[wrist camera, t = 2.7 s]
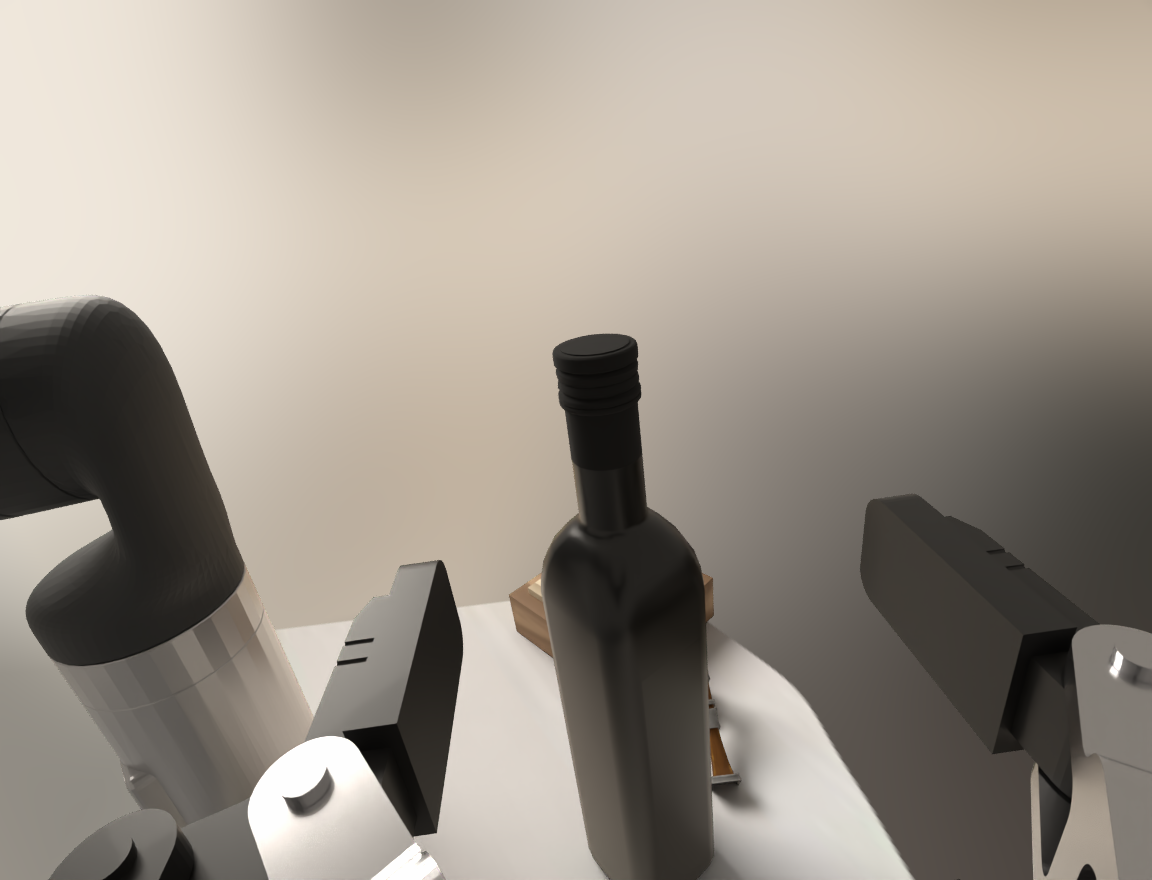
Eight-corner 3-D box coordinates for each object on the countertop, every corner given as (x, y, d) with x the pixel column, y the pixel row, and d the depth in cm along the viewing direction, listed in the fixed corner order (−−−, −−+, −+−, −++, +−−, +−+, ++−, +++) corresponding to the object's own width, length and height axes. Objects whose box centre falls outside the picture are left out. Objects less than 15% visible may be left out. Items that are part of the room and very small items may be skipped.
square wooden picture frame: (618, 706, 42) (612, 659, 40) (516, 630, 51) (507, 589, 49) (713, 615, 49) (712, 571, 47) (610, 562, 58) (606, 523, 56)
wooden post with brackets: (705, 670, 43) (710, 647, 40) (733, 793, 38) (742, 779, 35) (681, 673, 43) (683, 650, 40) (706, 796, 38) (711, 782, 35)
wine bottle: (581, 846, 34) (485, 352, 21) (651, 783, 37) (603, 315, 24) (650, 934, 30) (580, 383, 17) (723, 855, 33) (710, 333, 20)
